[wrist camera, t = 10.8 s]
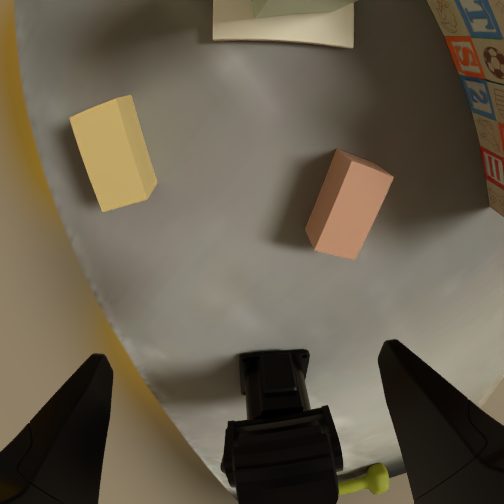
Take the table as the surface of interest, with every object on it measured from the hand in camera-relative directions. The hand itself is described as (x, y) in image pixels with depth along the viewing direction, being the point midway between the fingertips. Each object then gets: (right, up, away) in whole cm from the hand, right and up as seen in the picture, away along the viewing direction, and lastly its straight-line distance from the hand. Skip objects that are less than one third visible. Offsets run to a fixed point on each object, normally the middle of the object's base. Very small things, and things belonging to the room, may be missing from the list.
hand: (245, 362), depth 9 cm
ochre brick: (-8, +10, +9) cm, 15 cm away
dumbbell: (+20, -44, +44) cm, 65 cm away
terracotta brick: (+6, +7, +12) cm, 15 cm away
